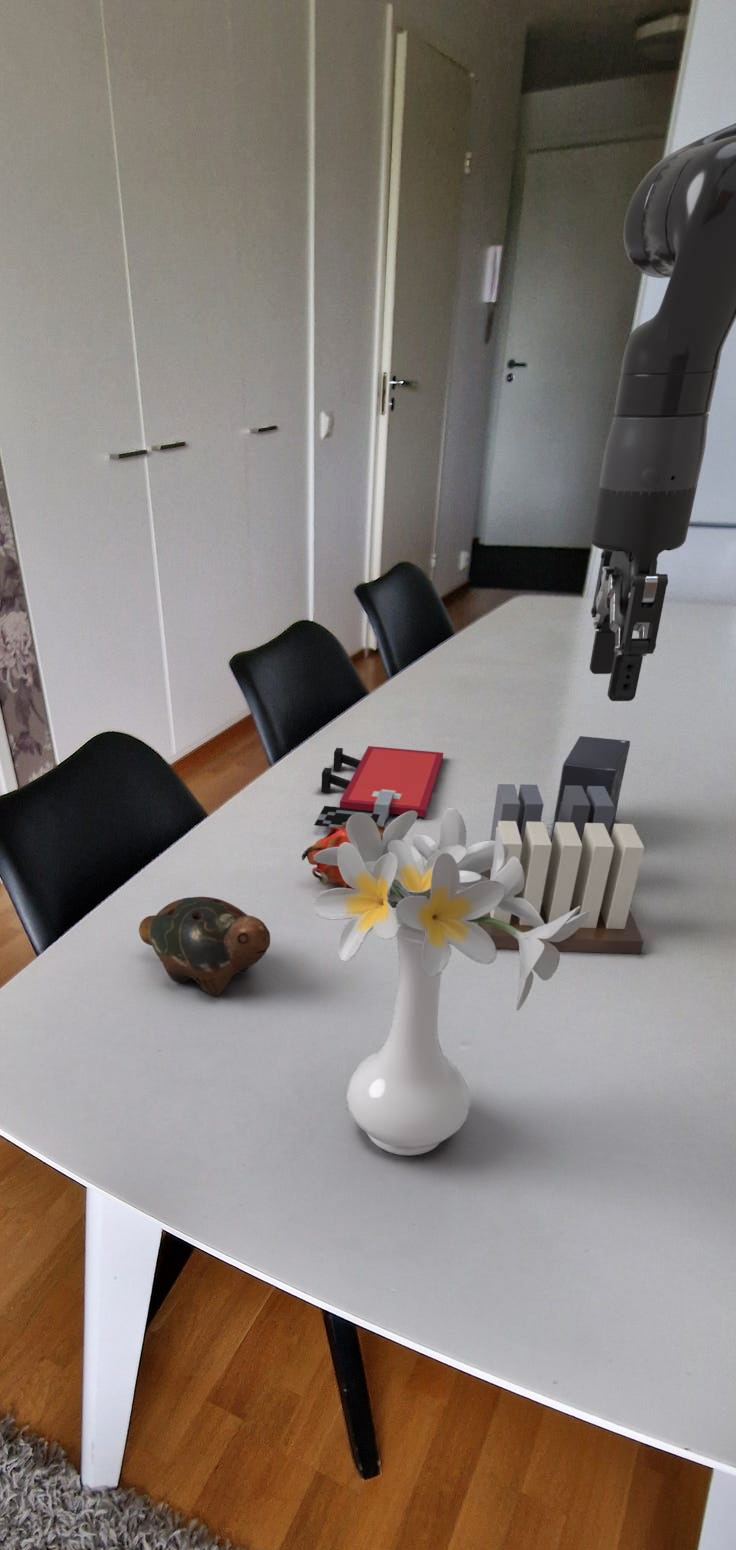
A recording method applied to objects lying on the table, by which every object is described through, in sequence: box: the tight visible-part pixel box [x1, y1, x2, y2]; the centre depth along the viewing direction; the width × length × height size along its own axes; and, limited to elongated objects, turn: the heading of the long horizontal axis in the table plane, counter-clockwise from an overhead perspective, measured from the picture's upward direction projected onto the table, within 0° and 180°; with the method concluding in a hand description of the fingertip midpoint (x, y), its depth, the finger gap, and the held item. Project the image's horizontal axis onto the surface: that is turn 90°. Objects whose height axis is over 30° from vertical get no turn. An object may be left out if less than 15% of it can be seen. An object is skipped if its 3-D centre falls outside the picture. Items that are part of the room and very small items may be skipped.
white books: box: [490, 821, 645, 929], centre depth 93 cm, size 13×6×9 cm, turn 83°
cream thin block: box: [542, 822, 582, 923], centre depth 93 cm, size 2×6×9 cm, turn 173°
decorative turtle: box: [138, 896, 271, 997], centre depth 89 cm, size 10×15×8 cm, turn 61°
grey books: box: [489, 783, 614, 872], centre depth 101 cm, size 11×6×9 cm, turn 83°
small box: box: [550, 735, 631, 844], centre depth 112 cm, size 11×6×10 cm, turn 154°
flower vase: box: [312, 807, 590, 1157], centre depth 65 cm, size 13×18×25 cm
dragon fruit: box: [301, 822, 399, 889], centre depth 103 cm, size 8×8×12 cm
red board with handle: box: [313, 745, 444, 828], centre depth 126 cm, size 30×3×15 cm
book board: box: [473, 869, 645, 955], centre depth 100 cm, size 16×20×2 cm
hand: (610, 685), depth 84 cm, fingers open, 8 cm apart
